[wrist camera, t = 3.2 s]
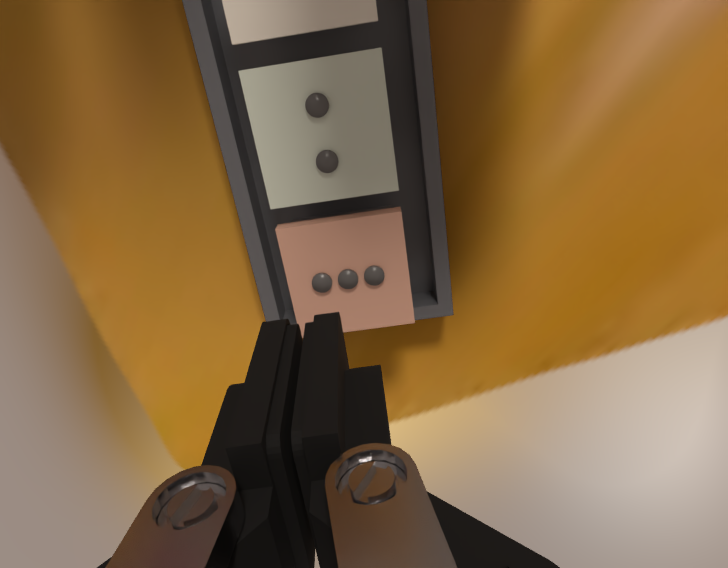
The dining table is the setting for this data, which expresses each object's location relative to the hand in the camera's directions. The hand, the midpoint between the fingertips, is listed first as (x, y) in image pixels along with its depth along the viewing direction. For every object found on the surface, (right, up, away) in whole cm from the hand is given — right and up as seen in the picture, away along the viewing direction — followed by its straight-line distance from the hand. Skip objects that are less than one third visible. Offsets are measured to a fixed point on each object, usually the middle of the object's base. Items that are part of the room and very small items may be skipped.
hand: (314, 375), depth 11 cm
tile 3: (0, +3, +16) cm, 17 cm away
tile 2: (-1, +10, +13) cm, 17 cm away
